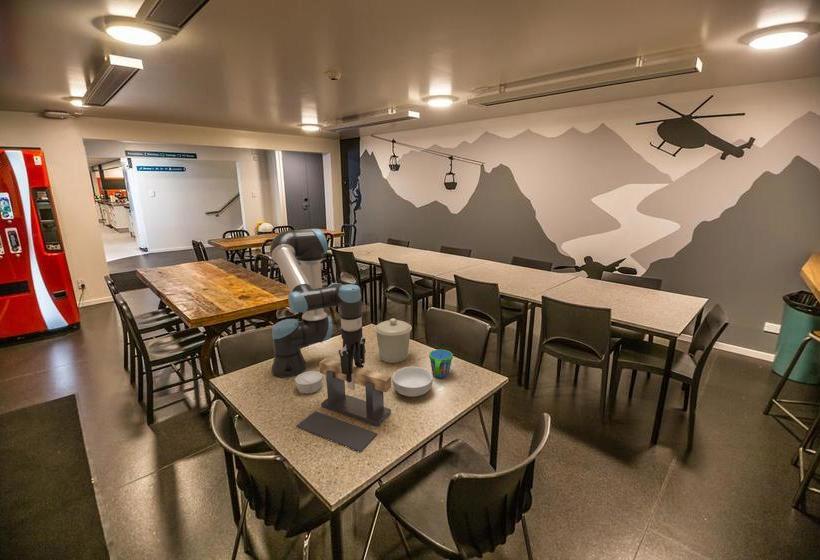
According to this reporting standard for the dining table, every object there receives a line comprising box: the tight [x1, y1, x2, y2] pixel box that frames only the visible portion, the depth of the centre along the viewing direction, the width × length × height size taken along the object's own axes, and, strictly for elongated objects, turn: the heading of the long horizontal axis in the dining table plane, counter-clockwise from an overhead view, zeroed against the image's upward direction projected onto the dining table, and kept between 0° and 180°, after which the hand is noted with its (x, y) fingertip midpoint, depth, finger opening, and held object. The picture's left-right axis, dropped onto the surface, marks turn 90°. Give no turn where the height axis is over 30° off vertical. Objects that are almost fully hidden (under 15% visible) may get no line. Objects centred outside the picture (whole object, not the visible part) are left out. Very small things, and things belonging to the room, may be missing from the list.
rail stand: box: [321, 371, 392, 428], centre depth 139 cm, size 26×9×16 cm, turn 62°
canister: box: [374, 317, 413, 364], centre depth 180 cm, size 18×18×21 cm
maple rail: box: [318, 358, 392, 393], centre depth 137 cm, size 30×4×4 cm, turn 62°
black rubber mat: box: [295, 410, 378, 453], centre depth 129 cm, size 28×10×1 cm, turn 62°
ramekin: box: [294, 370, 324, 395], centre depth 156 cm, size 11×11×5 cm
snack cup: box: [428, 349, 454, 379], centre depth 165 cm, size 16×10×10 cm
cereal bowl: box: [391, 366, 434, 397], centre depth 153 cm, size 17×17×7 cm
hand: (354, 385), depth 138 cm, fingers closed on maple rail, 4 cm apart
